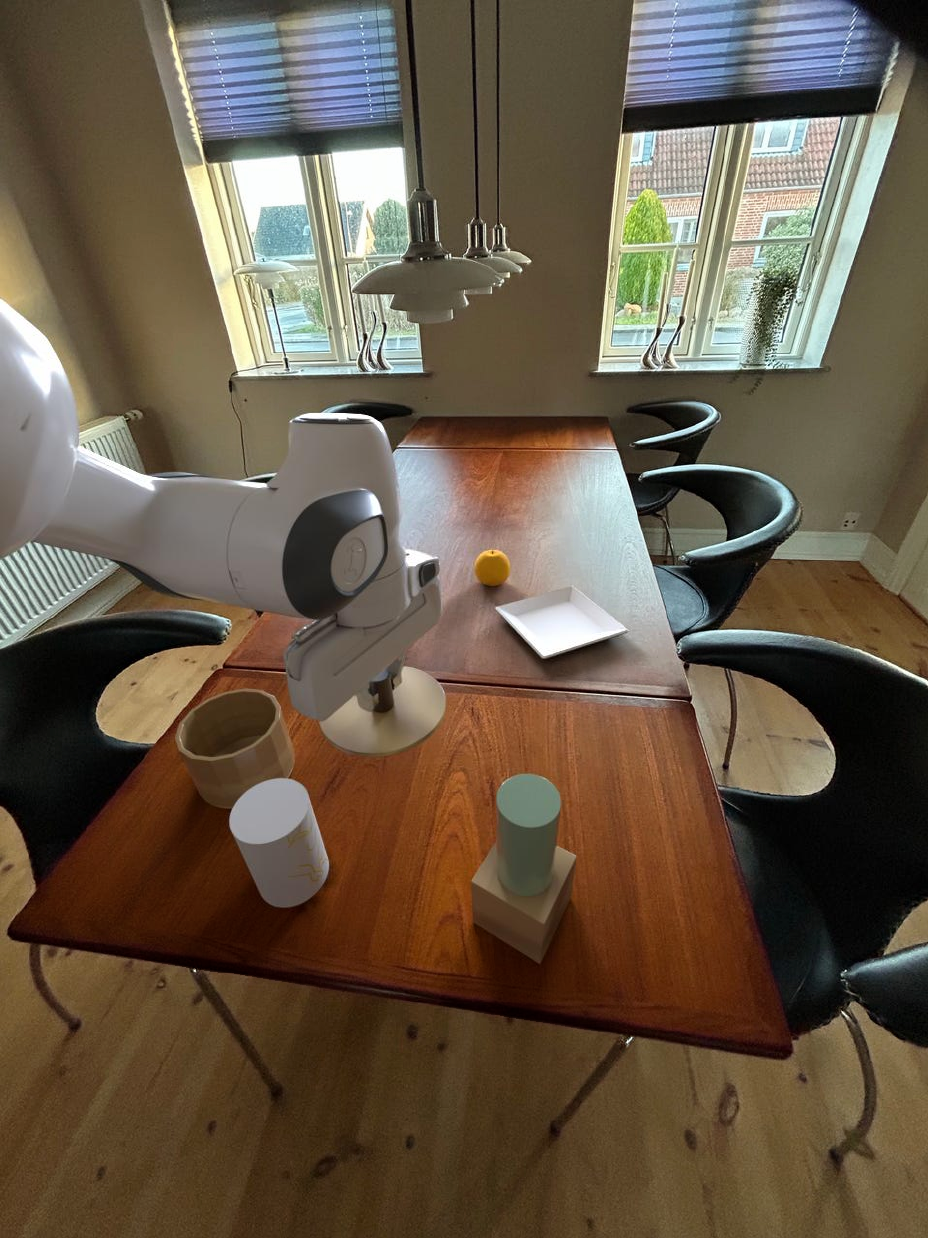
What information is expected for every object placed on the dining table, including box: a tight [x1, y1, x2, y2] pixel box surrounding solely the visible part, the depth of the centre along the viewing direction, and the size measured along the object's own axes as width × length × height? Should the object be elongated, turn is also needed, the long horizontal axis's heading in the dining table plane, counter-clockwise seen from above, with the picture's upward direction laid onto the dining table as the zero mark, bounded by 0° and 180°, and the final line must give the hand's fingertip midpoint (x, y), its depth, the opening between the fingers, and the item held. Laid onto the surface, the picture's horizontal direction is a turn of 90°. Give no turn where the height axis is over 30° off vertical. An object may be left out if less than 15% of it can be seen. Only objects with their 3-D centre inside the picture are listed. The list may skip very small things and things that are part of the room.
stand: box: [470, 842, 578, 965], centre depth 56 cm, size 8×8×8 cm
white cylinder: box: [229, 778, 330, 909], centre depth 59 cm, size 8×8×12 cm
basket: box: [174, 688, 296, 810], centre depth 73 cm, size 13×13×10 cm
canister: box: [495, 773, 562, 897], centre depth 51 cm, size 6×6×11 cm
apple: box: [473, 549, 511, 587], centre depth 116 cm, size 8×8×8 cm
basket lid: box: [318, 665, 447, 758], centre depth 58 cm, size 14×14×6 cm
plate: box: [494, 585, 630, 660], centre depth 103 cm, size 19×19×2 cm
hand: (381, 695), depth 59 cm, fingers closed on basket lid, 2 cm apart
